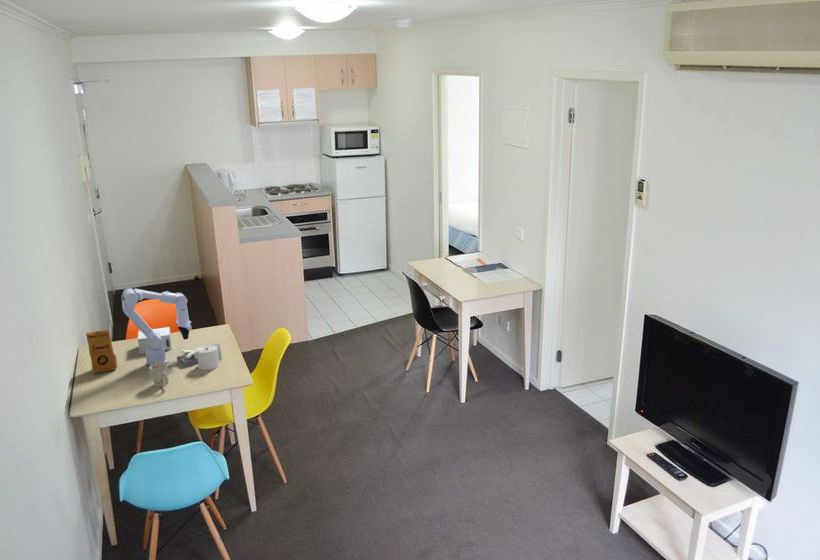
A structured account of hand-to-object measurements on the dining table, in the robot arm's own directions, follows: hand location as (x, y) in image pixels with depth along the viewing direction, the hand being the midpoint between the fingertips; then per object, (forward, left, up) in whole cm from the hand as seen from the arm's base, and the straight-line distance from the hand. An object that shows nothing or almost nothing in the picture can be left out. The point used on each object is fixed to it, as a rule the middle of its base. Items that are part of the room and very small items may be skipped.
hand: (185, 338), depth 358 cm
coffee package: (-39, +15, -10) cm, 43 cm away
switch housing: (-2, -9, -10) cm, 13 cm away
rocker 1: (-2, -6, -5) cm, 8 cm away
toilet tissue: (+2, -20, -10) cm, 23 cm away
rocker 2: (-2, -10, -5) cm, 12 cm away
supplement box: (-8, +24, -10) cm, 27 cm away
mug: (-25, -25, -10) cm, 37 cm away
